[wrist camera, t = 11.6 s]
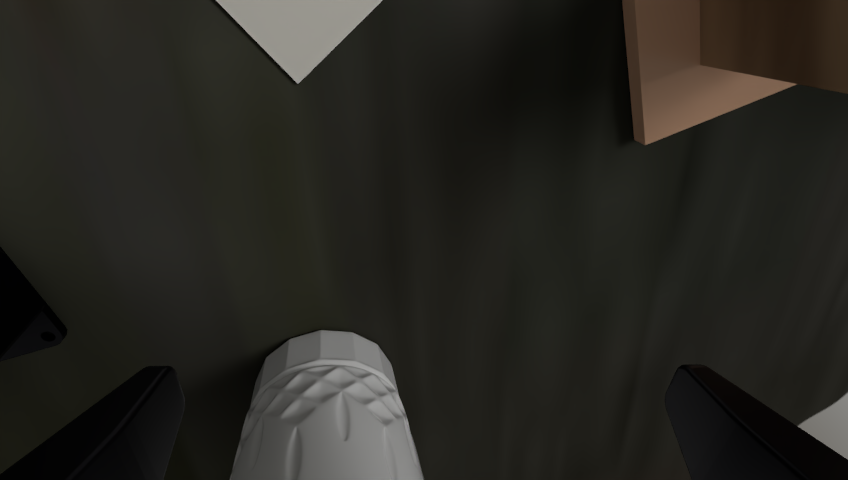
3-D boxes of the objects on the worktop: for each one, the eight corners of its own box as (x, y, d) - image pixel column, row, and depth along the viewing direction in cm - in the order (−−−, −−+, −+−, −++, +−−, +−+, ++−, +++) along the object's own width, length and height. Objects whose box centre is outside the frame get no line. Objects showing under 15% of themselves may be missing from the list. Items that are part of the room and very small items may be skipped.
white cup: (275, 299, 20) (242, 526, 12) (428, 340, 23) (491, 545, 15) (224, 419, 23) (167, 674, 14) (366, 442, 26) (389, 665, 17)
